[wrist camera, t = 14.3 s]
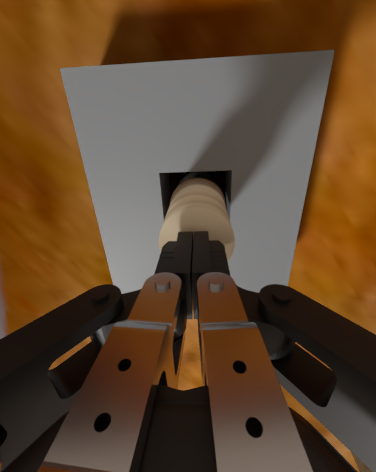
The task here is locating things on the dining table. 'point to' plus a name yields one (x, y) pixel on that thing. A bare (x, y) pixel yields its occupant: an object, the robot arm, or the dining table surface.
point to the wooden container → (361, 464)
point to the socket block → (200, 152)
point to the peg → (198, 211)
